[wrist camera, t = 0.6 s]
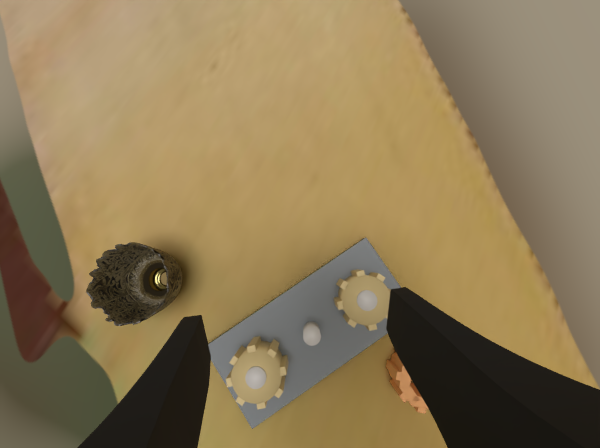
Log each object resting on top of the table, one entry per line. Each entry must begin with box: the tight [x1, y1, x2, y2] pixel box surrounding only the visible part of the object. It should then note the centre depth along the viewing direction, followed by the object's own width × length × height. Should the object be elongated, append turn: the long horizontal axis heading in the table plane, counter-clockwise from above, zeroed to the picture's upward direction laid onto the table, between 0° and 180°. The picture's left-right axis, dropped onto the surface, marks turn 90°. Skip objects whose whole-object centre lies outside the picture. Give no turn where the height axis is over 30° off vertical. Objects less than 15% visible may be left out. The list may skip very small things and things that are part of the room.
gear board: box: [208, 238, 401, 429], centre depth 31 cm, size 10×22×5 cm, turn 124°
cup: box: [86, 242, 182, 326], centre depth 30 cm, size 8×7×8 cm
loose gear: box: [386, 352, 428, 414], centre depth 31 cm, size 6×6×4 cm
